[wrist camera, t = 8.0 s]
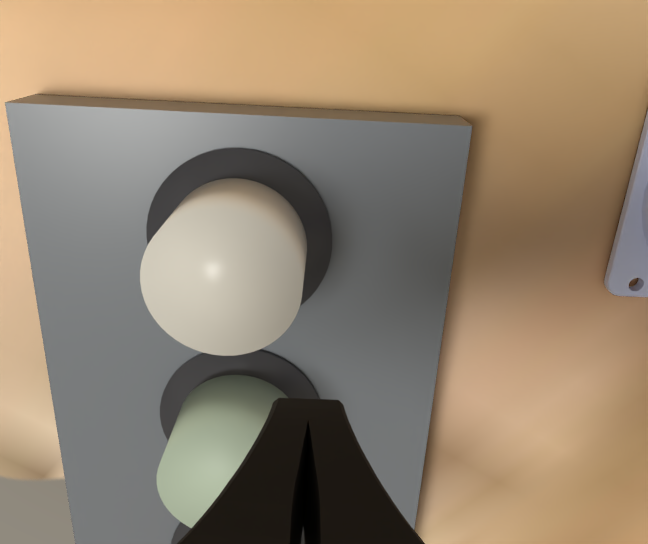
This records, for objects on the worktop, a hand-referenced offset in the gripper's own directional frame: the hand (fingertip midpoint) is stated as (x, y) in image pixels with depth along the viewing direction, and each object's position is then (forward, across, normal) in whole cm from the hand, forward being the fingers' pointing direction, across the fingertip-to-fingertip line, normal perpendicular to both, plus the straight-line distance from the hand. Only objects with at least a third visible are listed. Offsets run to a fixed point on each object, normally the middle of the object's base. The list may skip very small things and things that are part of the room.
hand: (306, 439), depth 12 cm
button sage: (+8, +2, +6) cm, 10 cm away
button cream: (+8, +2, -1) cm, 8 cm away
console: (+10, +2, +6) cm, 12 cm away
